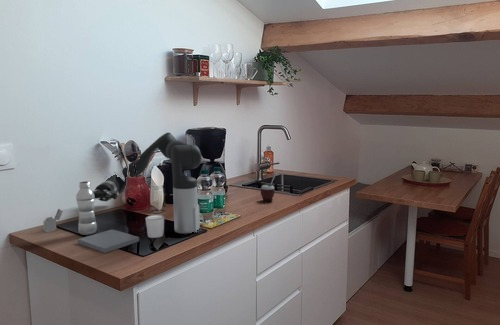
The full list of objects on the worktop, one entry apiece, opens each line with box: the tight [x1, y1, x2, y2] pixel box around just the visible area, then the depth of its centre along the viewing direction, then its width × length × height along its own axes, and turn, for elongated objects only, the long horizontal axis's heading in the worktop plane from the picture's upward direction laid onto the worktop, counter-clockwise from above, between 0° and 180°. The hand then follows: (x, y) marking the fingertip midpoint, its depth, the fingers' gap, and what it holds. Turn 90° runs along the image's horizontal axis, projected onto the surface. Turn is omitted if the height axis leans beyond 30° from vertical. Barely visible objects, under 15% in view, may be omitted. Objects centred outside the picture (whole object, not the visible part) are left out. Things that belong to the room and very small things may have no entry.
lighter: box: [42, 208, 64, 233], centre depth 158 cm, size 7×2×8 cm, turn 133°
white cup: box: [145, 214, 165, 239], centre depth 151 cm, size 7×7×7 cm
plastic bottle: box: [75, 180, 98, 236], centre depth 152 cm, size 6×7×20 cm
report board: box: [77, 229, 140, 254], centre depth 144 cm, size 16×14×2 cm
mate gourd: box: [260, 171, 280, 203], centre depth 202 cm, size 8×8×15 cm
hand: (94, 199), depth 162 cm, fingers open, 8 cm apart
